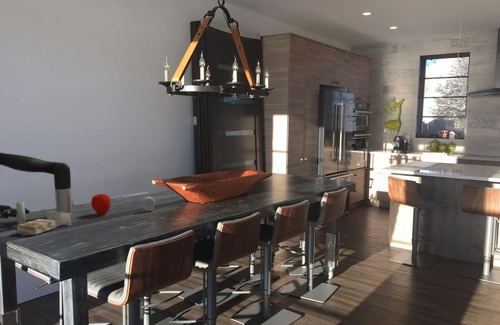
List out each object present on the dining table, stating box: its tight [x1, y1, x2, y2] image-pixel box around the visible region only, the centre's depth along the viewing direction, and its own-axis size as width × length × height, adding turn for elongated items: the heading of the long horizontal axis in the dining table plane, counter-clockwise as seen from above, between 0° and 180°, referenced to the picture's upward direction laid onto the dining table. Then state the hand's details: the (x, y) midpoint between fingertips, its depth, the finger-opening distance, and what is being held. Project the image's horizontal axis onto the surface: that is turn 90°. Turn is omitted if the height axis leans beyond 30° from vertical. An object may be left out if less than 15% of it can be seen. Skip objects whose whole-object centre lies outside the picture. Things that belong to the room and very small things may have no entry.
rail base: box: [18, 210, 72, 236], centre depth 224 cm, size 25×16×7 cm, turn 162°
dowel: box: [15, 201, 26, 225], centre depth 228 cm, size 4×4×14 cm
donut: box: [140, 196, 156, 212], centre depth 265 cm, size 10×4×10 cm, turn 130°
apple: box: [90, 193, 112, 216], centre depth 257 cm, size 12×12×13 cm
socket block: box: [16, 218, 57, 236], centre depth 220 cm, size 14×12×4 cm
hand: (22, 213), depth 227 cm, fingers open, 8 cm apart
